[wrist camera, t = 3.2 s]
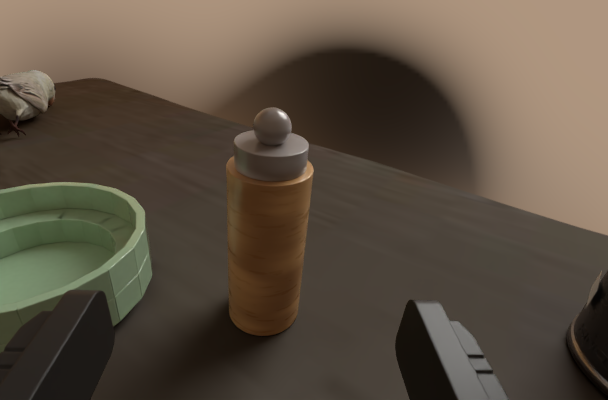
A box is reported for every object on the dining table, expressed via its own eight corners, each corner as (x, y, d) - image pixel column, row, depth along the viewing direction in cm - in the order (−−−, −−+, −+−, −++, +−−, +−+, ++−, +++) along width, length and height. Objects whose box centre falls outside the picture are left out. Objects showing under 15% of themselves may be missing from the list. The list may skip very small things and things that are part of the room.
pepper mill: (296, 285, 28) (315, 99, 21) (299, 336, 24) (324, 126, 17) (233, 283, 27) (231, 93, 21) (224, 335, 23) (218, 119, 16)
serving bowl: (173, 237, 32) (168, 187, 29) (109, 387, 20) (91, 322, 17) (4, 231, 30) (-17, 177, 28) (-175, 386, 18) (-238, 316, 16)
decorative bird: (70, 105, 60) (59, 57, 56) (26, 140, 46) (8, 80, 43) (33, 104, 59) (19, 55, 55) (-23, 140, 45) (-46, 77, 42)
